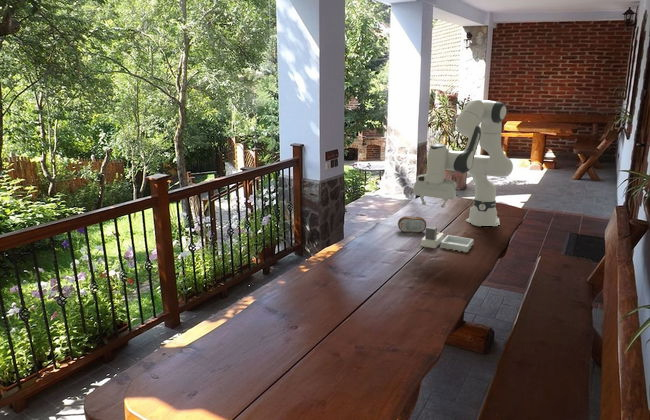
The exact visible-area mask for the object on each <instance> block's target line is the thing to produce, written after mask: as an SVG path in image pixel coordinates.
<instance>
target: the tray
mask: <svg viewBox="0 0 650 420" xmlns="http://www.w3.org/2000/svg"><path fill="white" fill-rule="evenodd" d="M439 245H440V247H439V248H440V249H443V248H446V249H445V250H449V249H453V250H452V251H455V250H458V251H457V252H461V251H463V253H466V252H467V253H469V251H470V250H471V248H472V247H473V246H474V239H473V238H468V237H463V236H456V235H449V234H447V235H446V236H444V239H443V240H442V241H441V243H440V244H439ZM472 245H473V246H472ZM471 246H472V247H471ZM469 249H470V250H469Z"/></svg>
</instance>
